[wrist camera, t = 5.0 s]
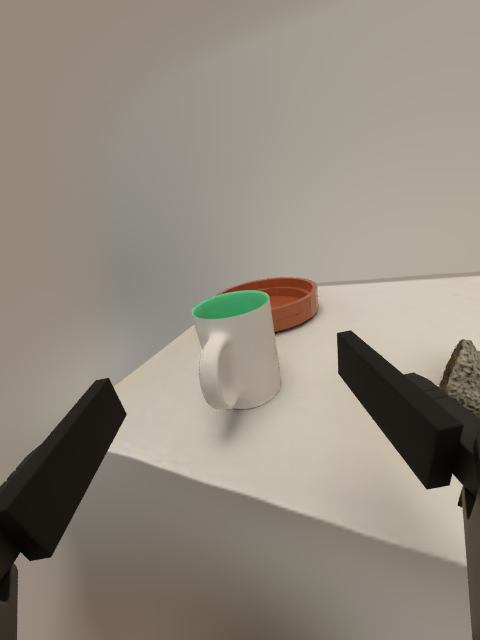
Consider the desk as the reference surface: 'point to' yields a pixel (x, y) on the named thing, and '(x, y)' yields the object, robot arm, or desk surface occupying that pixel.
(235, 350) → the mug
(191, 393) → the desk surface
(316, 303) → the bowl
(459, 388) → the rock sample
